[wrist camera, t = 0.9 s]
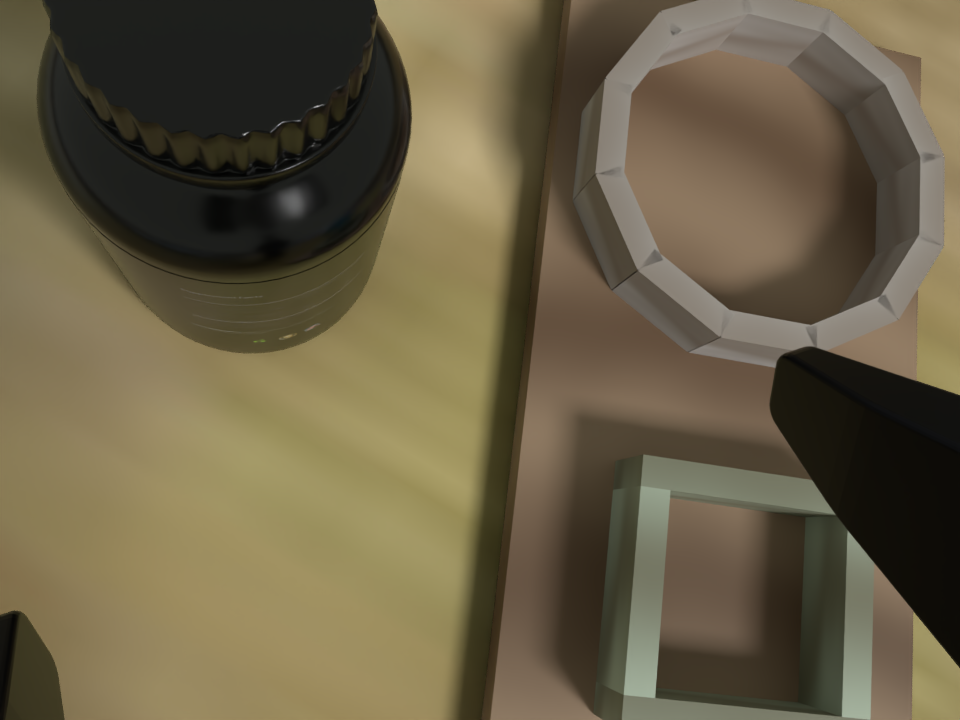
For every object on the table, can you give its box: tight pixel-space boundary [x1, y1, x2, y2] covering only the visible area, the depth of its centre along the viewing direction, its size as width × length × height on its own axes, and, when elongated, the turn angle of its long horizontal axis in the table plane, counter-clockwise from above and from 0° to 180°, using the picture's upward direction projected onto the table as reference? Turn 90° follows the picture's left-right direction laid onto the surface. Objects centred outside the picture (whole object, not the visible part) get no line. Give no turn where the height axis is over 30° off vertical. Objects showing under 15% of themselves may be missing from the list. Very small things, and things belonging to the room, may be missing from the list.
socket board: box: [481, 0, 945, 720], centre depth 25 cm, size 24×12×3 cm, turn 173°
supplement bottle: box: [37, 0, 412, 353], centre depth 19 cm, size 7×7×12 cm
